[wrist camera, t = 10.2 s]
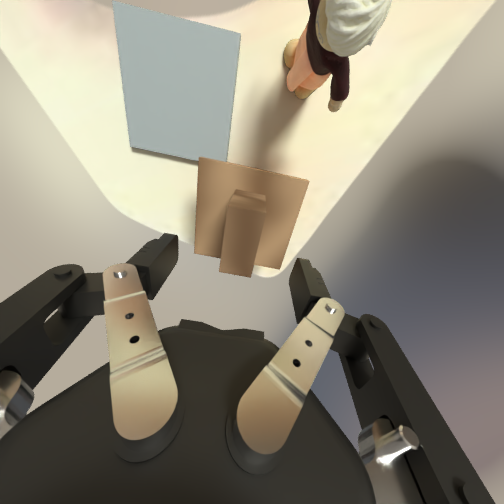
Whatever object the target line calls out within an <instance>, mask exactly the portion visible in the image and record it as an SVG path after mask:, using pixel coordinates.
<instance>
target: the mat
mask: <svg viewBox="0 0 504 504" xmlns="http://www.w3.org/2000/svg"><path fill="white" fill-rule="evenodd" d="M112 2H113V11H114V19H115V28H116V36H117V44H118V52H119V60H120V68H121V76H122V84H123V93H124V101H125V109H126V117H127V125H128V133H129V141H130V147H135V148H140V149H144V150H149V151H154V152H158V153H163V154H168V155H172V156H177V157H182V158H186V159H191V160H196V161H198V160H199V157H206V158H210V159H215V160H219V161H224V162H227V156H228V147H229V138H230V129H231V120H232V111H233V102H234V94H235V85H236V76H237V67H238V58H239V49H240V40H241V34H240V33H237V32H233V31H229V30H225V29H221V28H217V27H213V26H210V25H206V24H202V23H198V22H194V21H190V20H186V19H182V18H179V17H175V16H171V15H167V14H163V13H159V12H155V11H151V10H148V9H143V8H139V7H136V6H132V5H128V4H124V3H120V2H116V1H112Z"/></svg>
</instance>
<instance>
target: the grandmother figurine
mask: <svg viewBox="0 0 504 504" xmlns="http://www.w3.org/2000/svg"><path fill="white" fill-rule="evenodd" d="M391 2H392V0H308V4H309V9H310V17H309V21H308V23H307V26H306V28H305V30H304V31H303V33H302V35H301V37H300V39H293V40H291V41H289V42H288V44H287V45H286V47H285V50H284V61H285V64H286V66H287V67H288V68H290V69H291V70H290V71H289V73H288V75H287V86H288V89H289V91H291V92H293V91H294V92H295V95H296V96H297V97H298V98H300V99H304V98H306V97H308V96H309V95H310V94H311V93H312V92H313V91H314V90H315V89H317V88H318V87H320V86H322V85H323V83H324V82H325V81H326V80H327V79H328V77H329V76H330V75H331V74H332V75H333V77H332V80H331V87H330V88H331V93H330V101H329V104H328V108H329V110H330V111H331V112H336V111H338V110H339V109H340V107H341V105H342V102H343V101H344V100H345V99H346V98H347V96H348V94H349V72H350V69H349V58H348V56H351V55H354V54H356V53H357V52H359V51H360V50H361V49H362V48H363V47H365V46H366V45H370V46H371V44H372V42H373V40H374V38H375V36H376V34H377V31H378V30H379V28H380V27H381V26H382V24H383V22H384V21H385V19H386V17H387V14H388V11H389V8H390V6H391Z"/></svg>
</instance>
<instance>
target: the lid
mask: <svg viewBox="0 0 504 504" xmlns="http://www.w3.org/2000/svg"><path fill="white" fill-rule="evenodd" d="M308 184H309V181H308V180H306V179H301V178H297V177H292V176H288V175H283V174H279V173H274V172H269V171H265V170H260V169H256V168H251V167H247V166H242V165H238V164H233V163H228V162H224V161H219V160H215V159H210V158H206V157H199V160H198V183H197V205H196V227H195V249H194V253H195V254H201V255H206V256H211V257H216V258H221V261H220V268H219V272H223V273H229V274H234V275H239V276H245V277H251V274H252V270H253V266H254V265H259V266H264V267H269V268H275V269H280V267H281V264H282V261H283V258H284V255H285V252H286V249H287V247H288V244H289V241H290V238H291V235H292V232H293V229H294V226H295V223H296V220H297V217H298V214H299V211H300V208H301V205H302V202H303V199H304V196H305V193H306V190H307V187H308Z"/></svg>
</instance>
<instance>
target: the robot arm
mask: <svg viewBox="0 0 504 504" xmlns="http://www.w3.org/2000/svg"><path fill="white" fill-rule="evenodd" d="M177 261H178V236H177V235H173V234H168V233H164V234H163V235H162V236H161V237H160V238H159V239H154V240H151V241H149V242H147V243H146V244H145V245H144V246H143V248H141V249H140V250H139V251H138V252H137V253H136V254H135V255H134V256H133V257H131V258H130V259H129V260H128V261H127V262H126V263H121V264H116V265H112V266H110V267H108V268H107V269H106V270H105V271H104V272H103V273H84V270H83V268H82V267H81V266H79V265H75V264H67V265H61V266H57V267H54V268H52V269H49V270H48V271H46V272H45V273H43V274H42V275H40V276H39V277H38V278H36V279H35V280H33V281H32V282H30V283H29V284H27V285H26V286H24V287H23V288H22V289H20V290H19V291H17V292H16V293H14V294H13V295H12V296H10V297H9V298H7V299H6V300H5V301H3V302H1V303H0V504H495V502H494V500H493V499H492V497H491V496H490V494H489V492H488V491H487V489H486V487H485V486H484V484H483V482H482V481H481V479H480V478H479V476H478V474H477V473H476V471H475V469H474V468H473V466H472V464H471V463H470V461H469V459H468V458H467V456H466V455H465V453H464V451H463V450H462V448H461V447H460V445H459V443H458V441H457V440H456V438H455V437H454V435H453V434H452V432H451V430H450V429H449V427H448V425H447V423H446V422H445V420H444V419H443V417H442V415H441V414H440V412H439V410H438V409H437V407H436V405H435V404H434V402H433V401H432V399H431V397H430V396H429V394H428V392H427V391H426V389H425V388H424V386H423V384H422V382H421V381H420V379H419V378H418V376H417V374H416V373H415V371H414V370H413V368H412V366H411V364H410V363H409V361H408V360H407V358H406V356H405V355H404V353H403V352H402V350H401V348H400V346H399V345H398V343H397V341H396V340H395V338H394V337H393V335H392V333H391V332H390V330H389V328H388V327H387V326H386V324H385V323H384V322H383V321H381V320H380V319H379V318H377V317H375V316H373V315H370V314H364V315H362V316H361V317H360V319H358V318H355V317H353V316H351V315H348V314H346V313H345V312H344V309H343V307H342V306H341V305H340V304H339V303H338V302H336V301H335V300H333V299H331V297H330V294H329V292H328V290H327V288H326V285H325V283H324V281H323V279H322V276H321V274H320V273H319V272H318V271H317V270H316V269H315V268H312V266H311V263H310V261H309V260H307V259H302V258H297V260H296V262H295V264H294V267H293V270H292V272H291V275H290V278H289V286H290V291H291V296H292V301H293V306H294V311H295V316H296V321H297V324H299V325H298V326H297V327H296V329H295V330H294V331H293V333H292V334H291V335H290V337H289V338H288V339H287V341H286V342H285V343H284V344H283V346H282V347H281V348H280V349H279V348H278V347H277V346H276V345H275V344H273V343H272V342H270V341H268V340H266V339H264V332H262V331H256V330H249V329H234V330H220V329H217V328H215V327H213V326H210V325H208V324H205V323H203V322H198V321H190V320H184V319H181V321H180V324H179V326H172V327H168V328H164V329H162V330H159V331H158V330H157V327H156V324H155V321H154V318H153V315H152V312H151V308H150V305H149V302H148V299H149V300H153V299H154V297H155V296H156V294H157V293H158V291H159V290H160V288H161V287H162V285H163V283H164V282H165V281H166V279H167V277H168V276H169V274H170V273H171V271H172V270H173V268H174V267H175V265H176V263H177ZM56 309H58V311H57V312H56V313H55V314H54V315H52V316H51V318H50V319H48V320H47V321H46V322H45V320H46V318H47V317H48V316H49V315H50V314H51V313H52V312H53V311H54V310H56ZM95 315H105V320H106V331H107V341H108V351H109V362H108V363H106V364H105V365H103V366H102V367H100V368H99V369H97V370H95V371H94V372H93V373H91V374H89V375H88V376H86V377H84V378H83V379H81V380H80V381H78V382H77V383H75V384H74V385H72V386H70V387H69V388H67V389H66V390H64V391H63V392H61V393H60V394H58V395H56V396H55V397H53V398H52V399H50V400H49V401H47V402H45V403H44V404H42V405H41V406H40V407H38V408H36V409H35V410H33V411H32V412H30V413H29V414H27V411H28V410H29V408H30V407H31V405H32V403H33V400H34V392H33V389H34V388H35V387H36V385H37V384H38V383H39V382H40V381H41V379H42V378H43V377H44V376H45V374H46V373H47V372H48V371H49V370H50V369H51V367H52V366H53V365H54V364H55V363H56V361H57V360H58V359H59V358H60V357H61V355H62V354H63V353H64V352H65V351H66V349H67V348H68V347H69V346H70V345H71V343H72V342H73V341H74V340H75V338H76V337H77V336H78V335H79V334H80V332H81V331H82V330H83V329H84V328H85V326H86V325H87V324H88V323H89V322H90V320H91V319H92V318H93V317H94V316H95ZM44 322H45V323H44ZM329 349H331V350H333V351H336V352H338V353H339V356H340V359H341V363H342V366H343V369H344V373H345V376H346V379H347V382H348V386H349V389H350V392H351V395H352V399H353V402H354V405H355V408H356V412H357V415H358V418H359V421H360V425H361V428H362V431H361V432H360V433H359V436H358V446H359V454H358V452H357V451H356V449H355V448H354V446H353V445H352V443H351V442H350V441H349V439H348V438H347V437H346V435H345V434H344V433H343V431H342V430H341V429H340V427H339V426H338V425H337V424H336V422H335V421H334V419H333V418H332V417H331V415H330V414H329V413H328V411H327V410H326V409H325V407H324V406H323V405H322V404H321V402H320V401H319V399H318V398H317V397H316V395H315V394H314V393H313V391H312V390H311V389H310V387H311V385H312V383H313V381H314V379H315V377H316V375H317V373H318V371H319V369H320V366H321V365H322V363H323V360H324V358H325V356H326V354H327V352H328V350H329ZM369 357H370V359H371V362H372V364H373V367H374V370H373V368H372V365H371V363H370V361H369V359H368V358H369Z"/></svg>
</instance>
